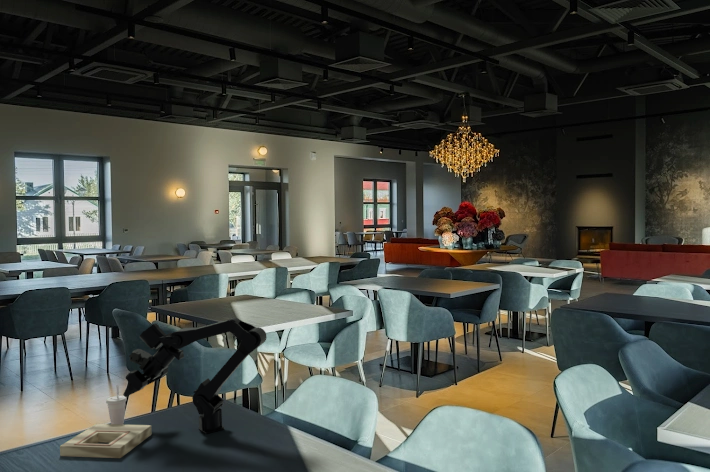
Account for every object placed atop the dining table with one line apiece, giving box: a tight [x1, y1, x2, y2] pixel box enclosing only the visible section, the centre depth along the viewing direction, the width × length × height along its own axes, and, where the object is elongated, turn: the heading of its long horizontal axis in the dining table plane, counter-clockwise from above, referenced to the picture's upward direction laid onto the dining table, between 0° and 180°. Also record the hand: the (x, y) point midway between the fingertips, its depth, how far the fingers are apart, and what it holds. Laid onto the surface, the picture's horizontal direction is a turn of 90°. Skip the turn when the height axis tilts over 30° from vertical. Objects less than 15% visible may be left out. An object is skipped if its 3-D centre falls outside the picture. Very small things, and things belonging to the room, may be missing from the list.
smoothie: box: [105, 384, 128, 425], centre depth 197 cm, size 6×6×14 cm
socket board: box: [59, 423, 153, 459], centre depth 181 cm, size 19×19×3 cm
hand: (131, 391), depth 196 cm, fingers open, 9 cm apart
